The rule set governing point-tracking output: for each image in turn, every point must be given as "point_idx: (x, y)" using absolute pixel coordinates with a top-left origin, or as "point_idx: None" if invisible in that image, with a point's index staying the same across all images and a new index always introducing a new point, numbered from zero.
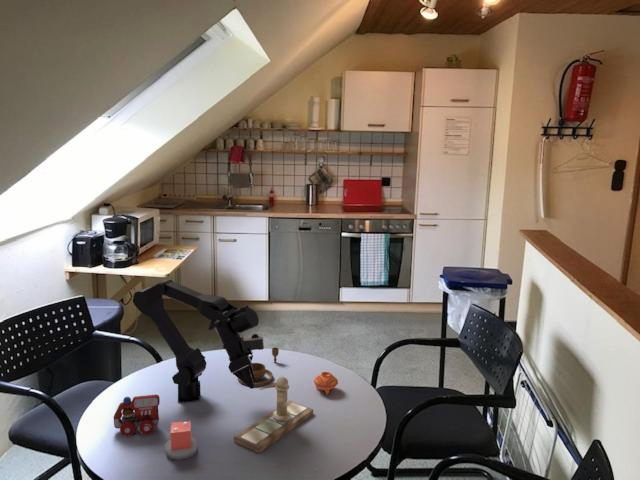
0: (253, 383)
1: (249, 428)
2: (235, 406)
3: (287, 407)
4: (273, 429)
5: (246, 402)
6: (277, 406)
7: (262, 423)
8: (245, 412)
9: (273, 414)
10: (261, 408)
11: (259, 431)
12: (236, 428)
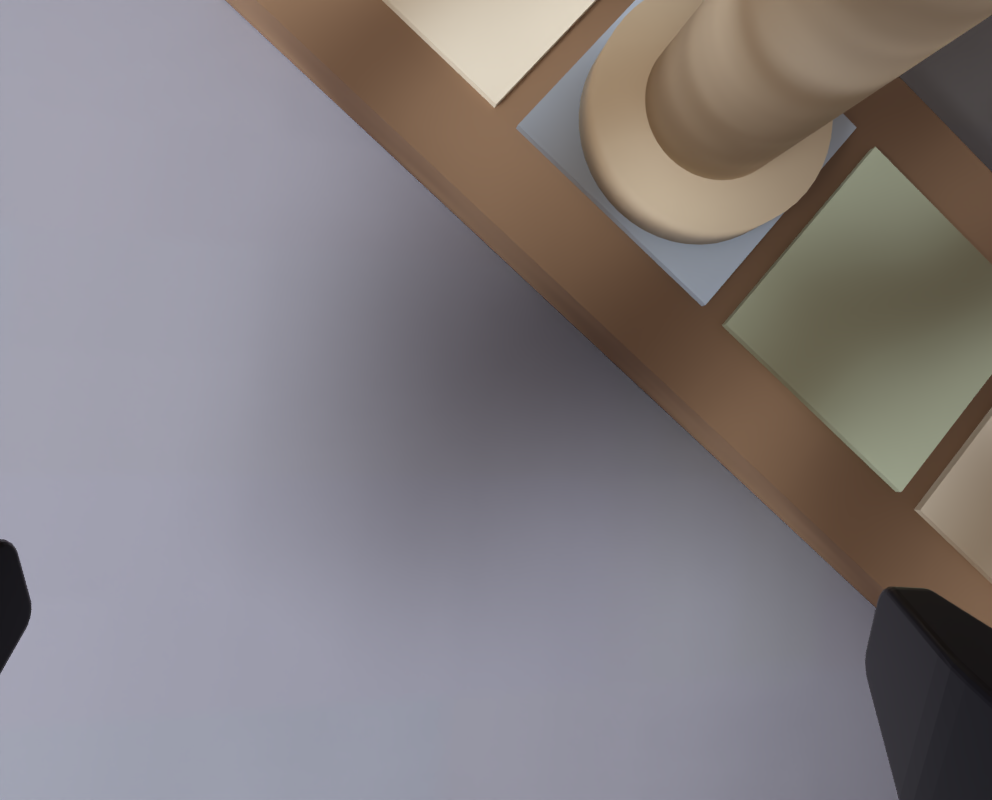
0: (981, 640)
1: (902, 566)
2: (178, 785)
3: (434, 12)
4: (961, 265)
5: (65, 623)
6: (824, 123)
7: (824, 397)
8: (369, 625)
9: (734, 229)
10: (276, 397)
11: (988, 440)
12: (748, 720)
